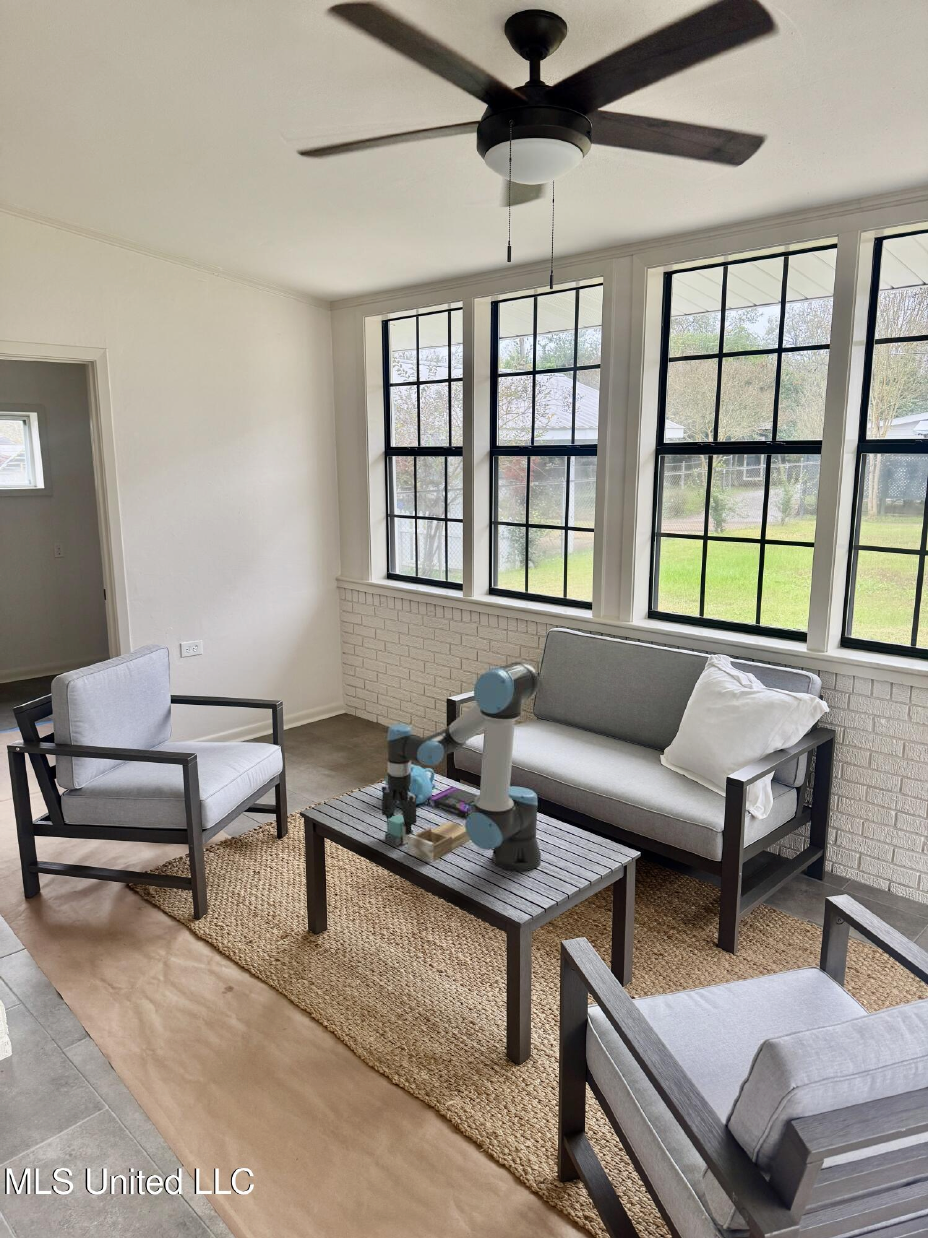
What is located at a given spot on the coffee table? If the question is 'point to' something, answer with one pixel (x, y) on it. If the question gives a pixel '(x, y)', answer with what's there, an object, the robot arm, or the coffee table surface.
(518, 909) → the coffee table surface
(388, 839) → the dark grey block
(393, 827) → the block
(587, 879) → the coffee table surface
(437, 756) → the robot arm
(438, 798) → the box
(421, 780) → the decorative pot
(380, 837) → the coffee table surface
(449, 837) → the drawer
